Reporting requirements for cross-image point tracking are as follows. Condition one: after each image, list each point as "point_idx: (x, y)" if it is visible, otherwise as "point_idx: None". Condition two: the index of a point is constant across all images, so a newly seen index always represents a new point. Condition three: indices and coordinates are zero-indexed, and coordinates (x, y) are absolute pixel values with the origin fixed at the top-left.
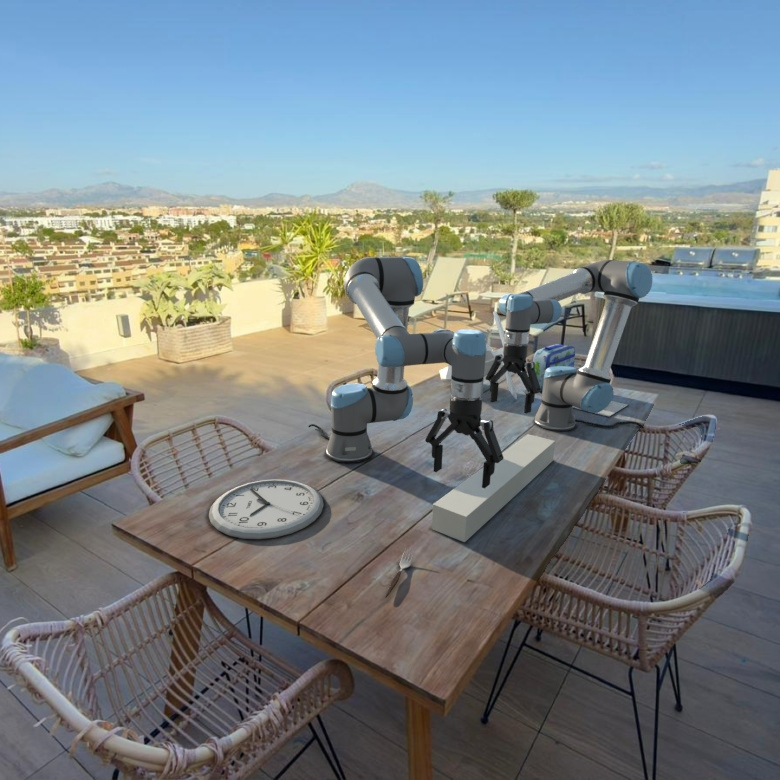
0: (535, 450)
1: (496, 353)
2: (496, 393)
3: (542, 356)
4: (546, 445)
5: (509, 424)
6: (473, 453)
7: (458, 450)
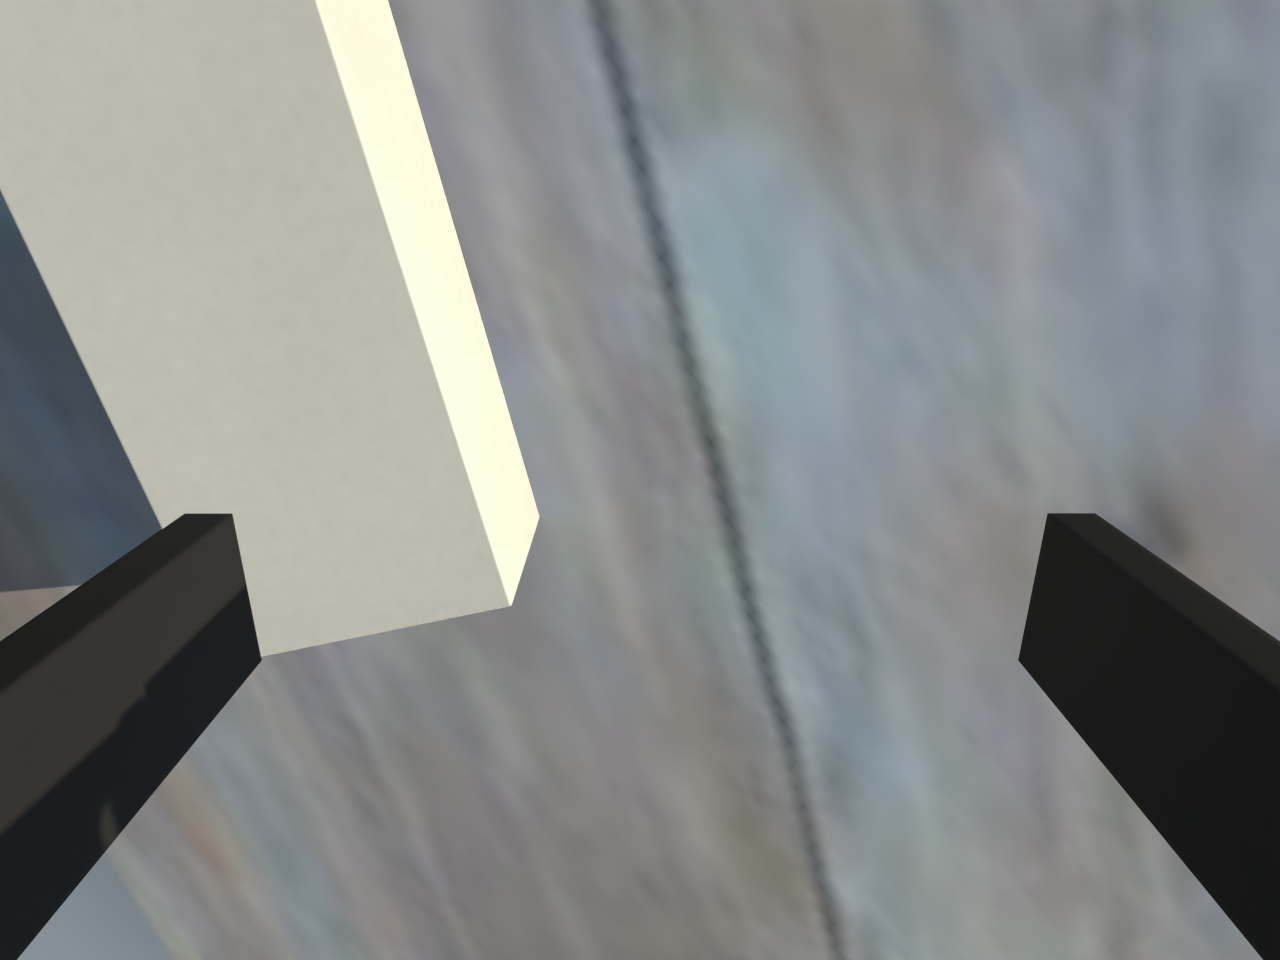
0: (126, 286)
1: None
2: (1130, 735)
3: None
4: (177, 500)
5: (986, 864)
6: (852, 126)
7: (1009, 53)
